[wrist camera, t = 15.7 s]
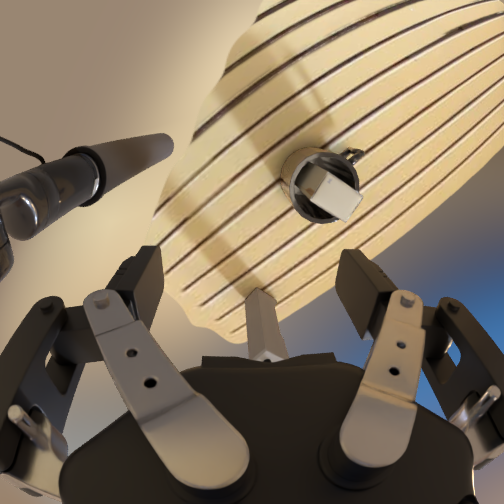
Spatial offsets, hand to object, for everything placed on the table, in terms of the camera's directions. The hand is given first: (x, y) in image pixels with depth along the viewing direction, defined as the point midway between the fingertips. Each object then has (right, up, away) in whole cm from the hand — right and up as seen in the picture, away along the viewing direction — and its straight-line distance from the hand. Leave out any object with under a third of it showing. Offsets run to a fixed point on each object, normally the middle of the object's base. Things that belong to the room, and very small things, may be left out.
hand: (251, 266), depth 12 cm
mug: (+11, +14, +32) cm, 37 cm away
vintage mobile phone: (+2, -9, +42) cm, 43 cm away
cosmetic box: (+10, +13, +32) cm, 36 cm away
